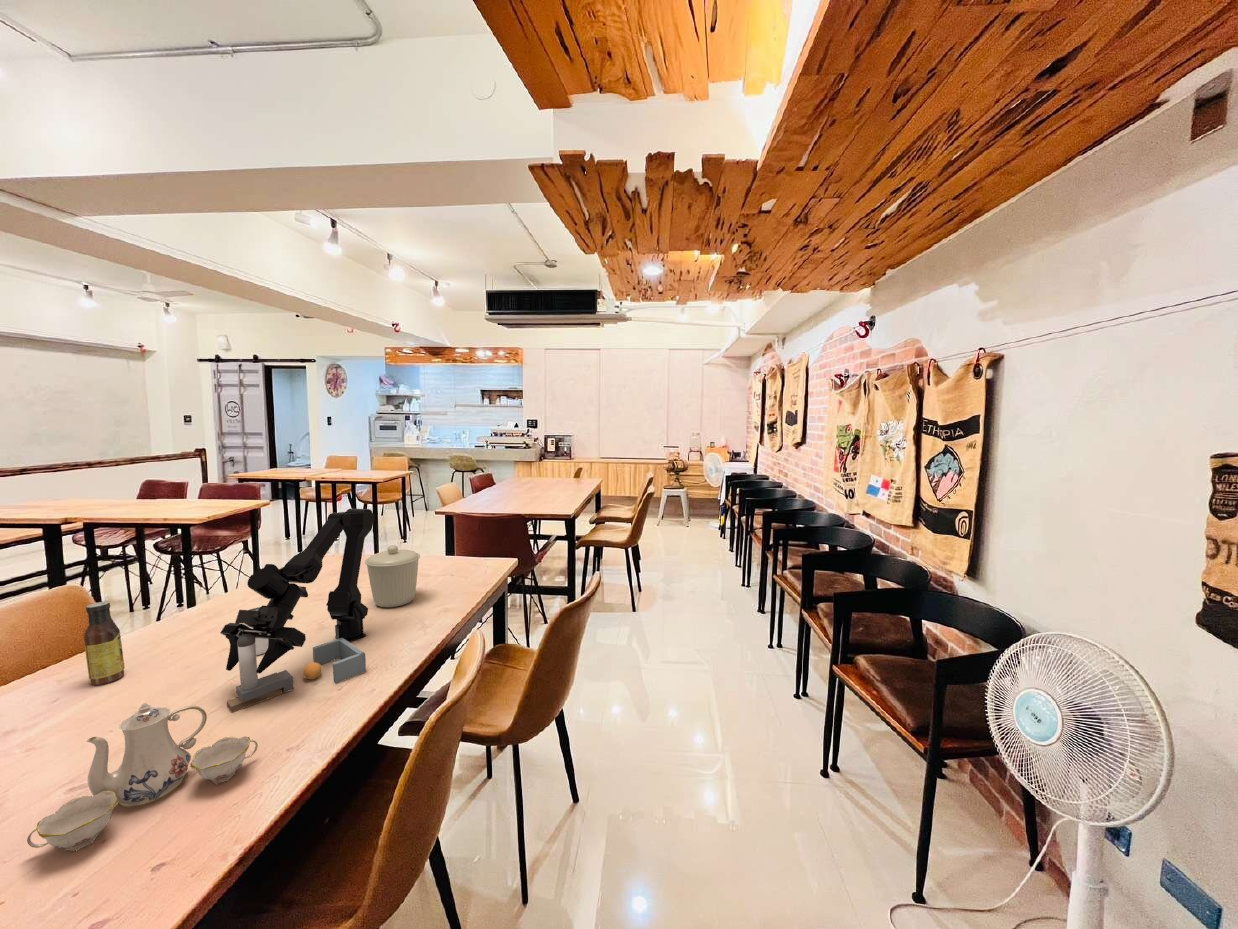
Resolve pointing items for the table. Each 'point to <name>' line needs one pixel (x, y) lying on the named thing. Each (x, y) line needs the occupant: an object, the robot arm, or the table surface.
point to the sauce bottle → (103, 645)
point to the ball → (312, 670)
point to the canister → (393, 576)
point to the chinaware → (139, 774)
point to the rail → (250, 701)
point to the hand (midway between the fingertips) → (242, 671)
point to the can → (259, 641)
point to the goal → (350, 655)
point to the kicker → (249, 677)
